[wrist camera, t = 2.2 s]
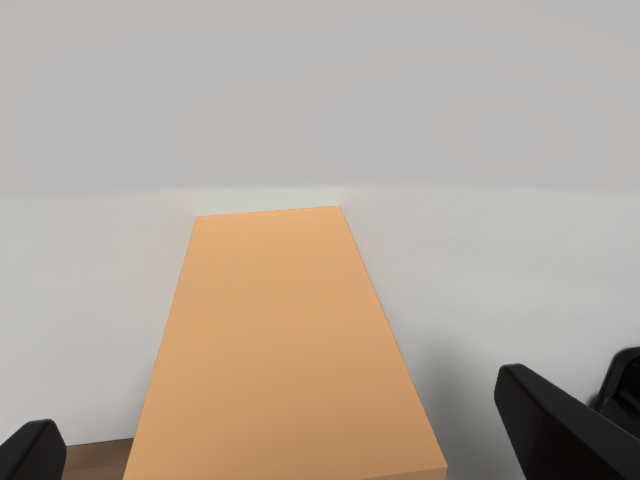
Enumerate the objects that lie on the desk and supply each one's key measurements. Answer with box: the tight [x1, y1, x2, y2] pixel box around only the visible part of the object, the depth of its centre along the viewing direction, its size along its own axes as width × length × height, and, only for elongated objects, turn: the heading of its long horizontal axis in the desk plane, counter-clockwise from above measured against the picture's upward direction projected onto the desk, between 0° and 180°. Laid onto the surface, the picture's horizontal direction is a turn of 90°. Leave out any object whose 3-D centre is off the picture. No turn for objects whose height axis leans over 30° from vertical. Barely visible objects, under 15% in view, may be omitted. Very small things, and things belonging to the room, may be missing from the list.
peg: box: [123, 206, 448, 480], centre depth 10 cm, size 4×4×8 cm
